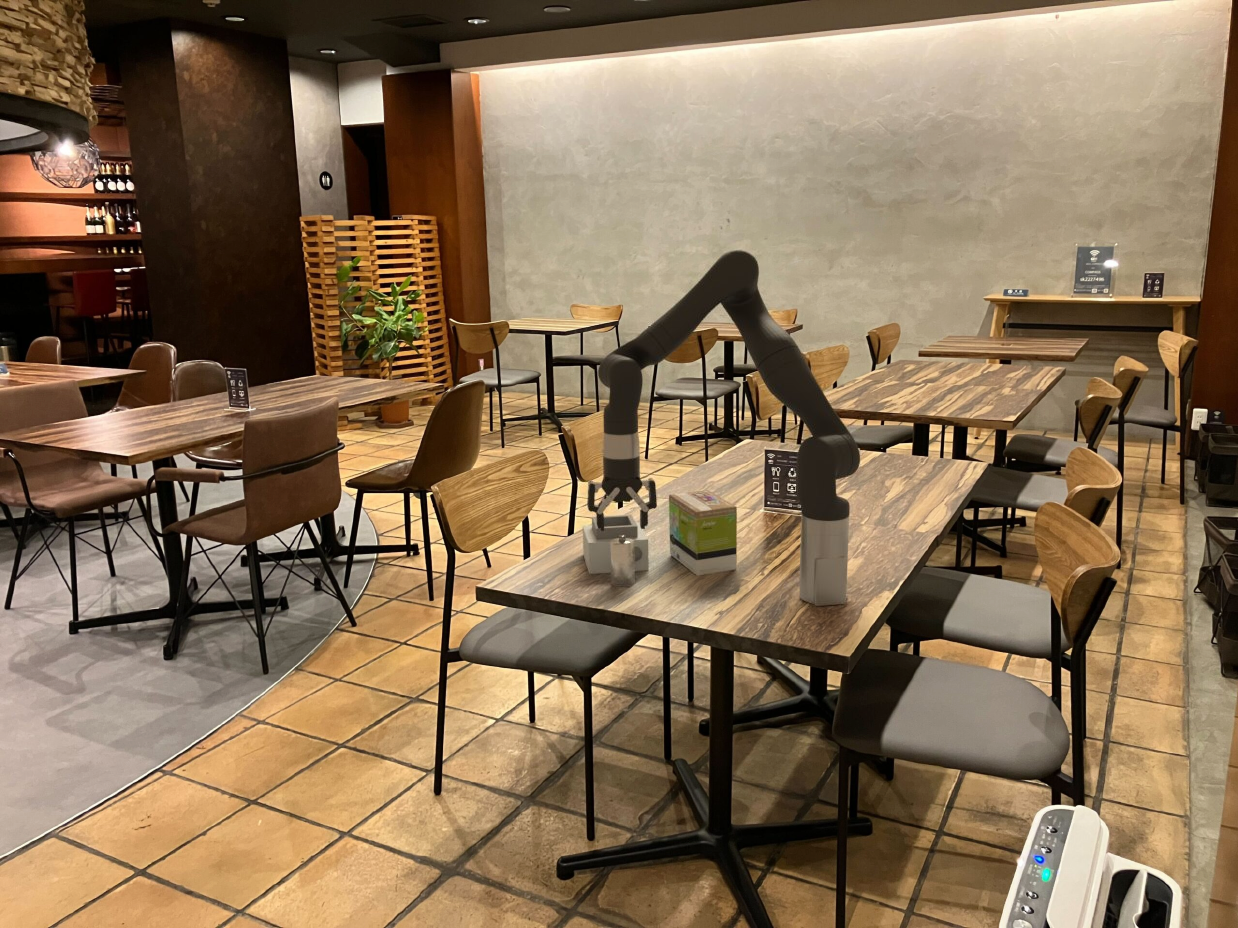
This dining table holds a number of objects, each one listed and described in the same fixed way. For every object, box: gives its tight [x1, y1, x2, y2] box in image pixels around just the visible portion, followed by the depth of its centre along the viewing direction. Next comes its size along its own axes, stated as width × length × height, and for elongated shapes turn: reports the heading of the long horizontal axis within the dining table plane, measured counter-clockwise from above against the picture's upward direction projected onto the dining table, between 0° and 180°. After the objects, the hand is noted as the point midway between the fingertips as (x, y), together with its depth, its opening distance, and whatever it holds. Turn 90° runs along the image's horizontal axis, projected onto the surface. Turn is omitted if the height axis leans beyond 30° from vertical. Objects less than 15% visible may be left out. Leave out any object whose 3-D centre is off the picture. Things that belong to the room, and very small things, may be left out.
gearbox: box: [582, 514, 650, 575], centre depth 216 cm, size 14×13×10 cm
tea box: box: [668, 489, 738, 576], centre depth 214 cm, size 15×10×15 cm, turn 21°
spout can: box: [610, 535, 636, 587], centre depth 204 cm, size 5×5×10 cm
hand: (622, 528), depth 203 cm, fingers open, 8 cm apart
